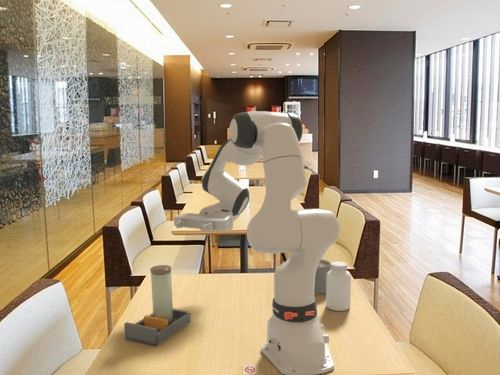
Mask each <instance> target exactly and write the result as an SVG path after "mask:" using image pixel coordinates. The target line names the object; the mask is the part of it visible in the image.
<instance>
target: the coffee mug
mask: <svg viewBox="0 0 500 375" xmlns="http://www.w3.org/2000/svg"><path fill="white" fill-rule="evenodd" d="M331 263H332V262H331V261H329V260H327V259H322V258H321V260H320V262H319V264H318V267H317V270H316V275H315V289H314V295H325V294H326V276H327V273H328V271H330V270H331Z"/></svg>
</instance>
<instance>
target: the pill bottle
mask: <svg viewBox="0 0 500 375" xmlns="http://www.w3.org/2000/svg"><path fill="white" fill-rule="evenodd" d="M330 263H331V270H330V271H328V273H327V276H326V295H325V296H326V297H325V299H326V300H325V305H326V308H327V309H328V310H332V311H334V312H335V311H336V312H344V311H347V310H350V309H351V286H352V285H351V284H352V283H351V282H352V279H351V278H352V275H351V273H350V272H349V271H348V270H347V269H348V263H346V262H344V261H333V262H330Z"/></svg>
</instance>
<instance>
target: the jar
mask: <svg viewBox="0 0 500 375" xmlns="http://www.w3.org/2000/svg"><path fill="white" fill-rule="evenodd" d="M149 271H150V279H151V282H150V283H151V295H152V296H151V300H152V301H151V302H152V313H153V317H157V318H162V319H167V320H168V325H170V324H171V323H173V309H174V305H173V288H172V287H173V285H172V282H173V281H172V266H170V265H167V264H160V265H155V266H152V267H150V269H149Z"/></svg>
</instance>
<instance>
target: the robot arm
mask: <svg viewBox="0 0 500 375" xmlns="http://www.w3.org/2000/svg"><path fill="white" fill-rule="evenodd" d="M228 132H229V137H230V138H229V139H227V140H225V141H224V142H223V143H222V144H221V146H220V147H218V150H217V151H216V154H215V155H214V158H213V159H212V161H211V163H210V165H209V167H208V169H207V170H206V171H205V173H204V175H203V176H202V178H201V187H202V190H203V191H204V192H206V193H207V194H209V195H211V196H212V197H214V199H216V200H217V201H219V202H217V203H215V204H211V205H208V206H206V207H203V208H201V209H200V211H199V212H198V213H192V212H186V213H185V212H184V213H180V214H178V215H177V214H176V215H174V216H173V225H174V227H175V229H182V228H186V229H193V230H194V229H196V230H200V231H202V232H215V231H217V232H227V231H232V230H233V228H234V222H235V221H236V220H237V219H238V218H239V217H240V215H241V214H242V213H243V212H244V211H245V209H246V208H247V206H248V204H249V201H250V191H249V189H248V187H246V186H245V185H244V184H242V183H241V182H240V181H238V180H236V179H235V178H233V177H232V176H231V175H230V174H229V173H227V172H226V170H225V167H226V165H227V164H228V162H229V163H233V164H235V165H238V166H244V167H245V166H246V167H247V166H251V165H254V164H256V163H258V162H259V161H260V160H261V159H262V166H263V172H264V174H263V175H264V183H265V195H264V200H263V202H262V205H261V207H260V209H259V210H258V211H257V213H256V214H255V215H254V216H253V217H252V218H251V219H250V220H249V222H248V225H247V229H246V238H247V242H248V244H249V245H250V246H249V247H251V249H253V250H254V251H255V252H256V253H263V254H270V255H271V254H272V255H273V254H275V255H276V254H283V253H291V254H290V255H289V257H288V258H287V259H286V261H284V262H282V263H281V264H280V265H278V266H277V268H276V270H275V272H274V274H273V299H272V304H271V307H272V313H273V314H272V315H271V317H269V319H268V320H267V328H266V343H265V344H263V345H262V346H261V348H260V351H261V353H262V354H263V355H264V356H265V357H266V358H267V360H269V361H270V362H271V363H272V365H273V366H274V367H275V368H276V369H277V371H278V372H279V373H280V374H281V375H283V374H284V375H320V374H325V373H328V372H331V371H333V370H334V369H335V364H334V361H333V356H332V354H331V351H330V348H329V343H330V337H329V334H328V333H327V334H323V330H325V328H324V327H325V325H324V324H321V323H320V316H319V314H318V310H317V309H318V306H317V305H318V304H317V301H316V298H315V294H314V289H315V275H316V270H317V267H318V264H319V262H320V260H321V259H322V257H323V256H324V255H325V253H326V251H328V250H329V248H331V246H333V245H334V244H335V243H336V242H337V241H338V239H339V238H338V237H339V235H340V222H339V219H338V218H337V216H336V215H335V213H333V211H331V210H327V209H321V208H307V209H295V210H294V209H293V210H292V207H291V206H292V205H291V204H292V200H294V199H296V198H297V197H298V196H300V195H301V194H302V193H303V192H304V191H305V189H306V186H307V177H306V172H305V171H306V170H305V164H304V159H303V154H302V150H301V149H302V148H301V145H300V142H301V140H302V138H303V137H302V136H303V123H302V120H301V119H300V117H299V116H298V115H297V114H295V113H292V112H286V111H285V112H277V111H267V110H265V111H263V110H260V111H259V110H258V111H257V110H251V111H244V112H239V113H236V114H234V115H233V117H232V118H231V120H230V123H229V129H228Z"/></svg>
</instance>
